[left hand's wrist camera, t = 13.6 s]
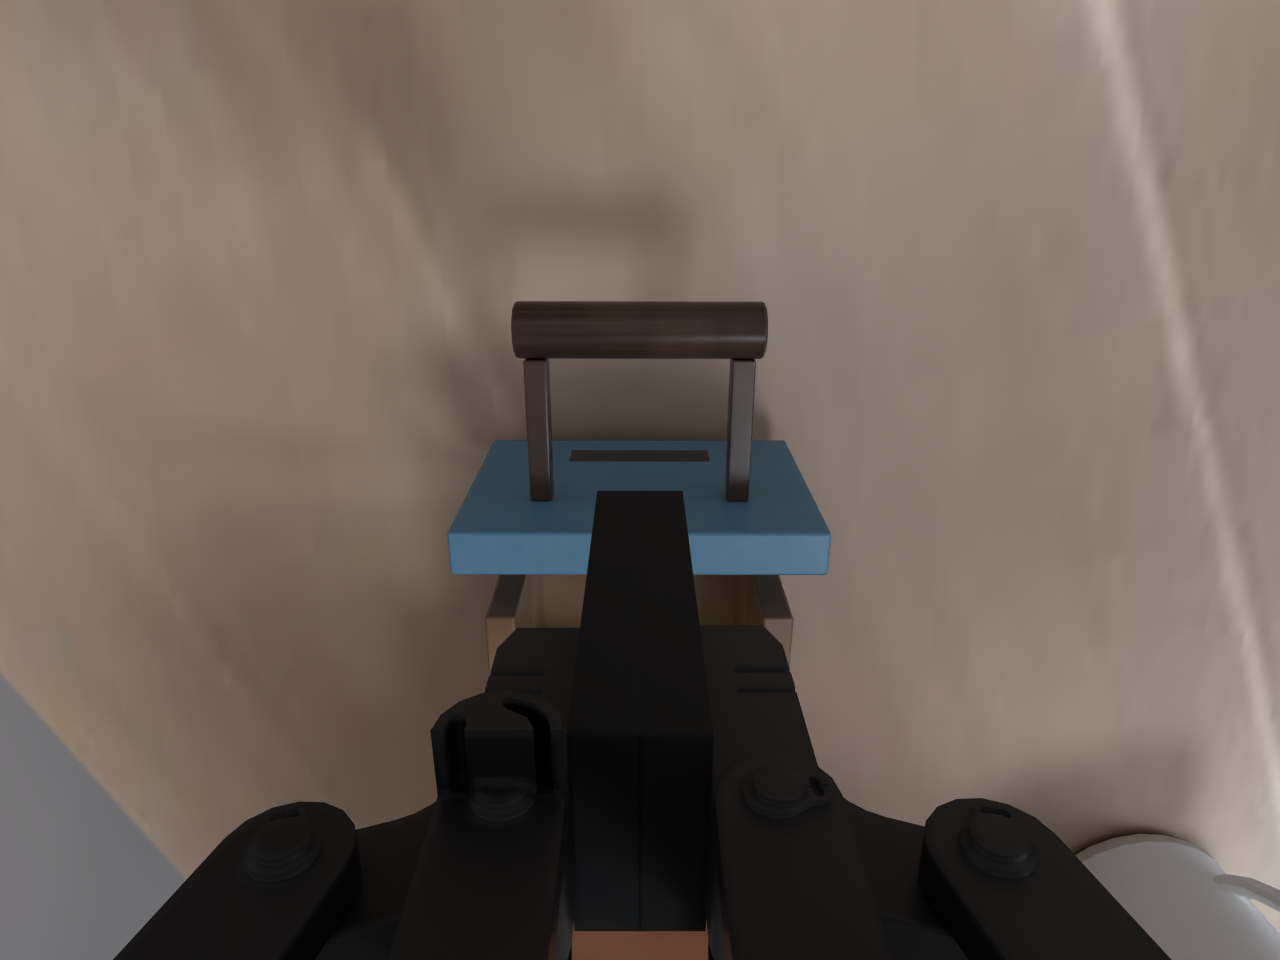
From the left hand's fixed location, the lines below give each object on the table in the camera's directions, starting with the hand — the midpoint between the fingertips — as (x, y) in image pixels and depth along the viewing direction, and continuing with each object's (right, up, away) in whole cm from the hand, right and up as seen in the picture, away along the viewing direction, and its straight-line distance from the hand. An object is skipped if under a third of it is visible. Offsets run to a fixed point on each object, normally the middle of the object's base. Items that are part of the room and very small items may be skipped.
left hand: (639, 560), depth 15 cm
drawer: (0, -1, +14) cm, 14 cm away
